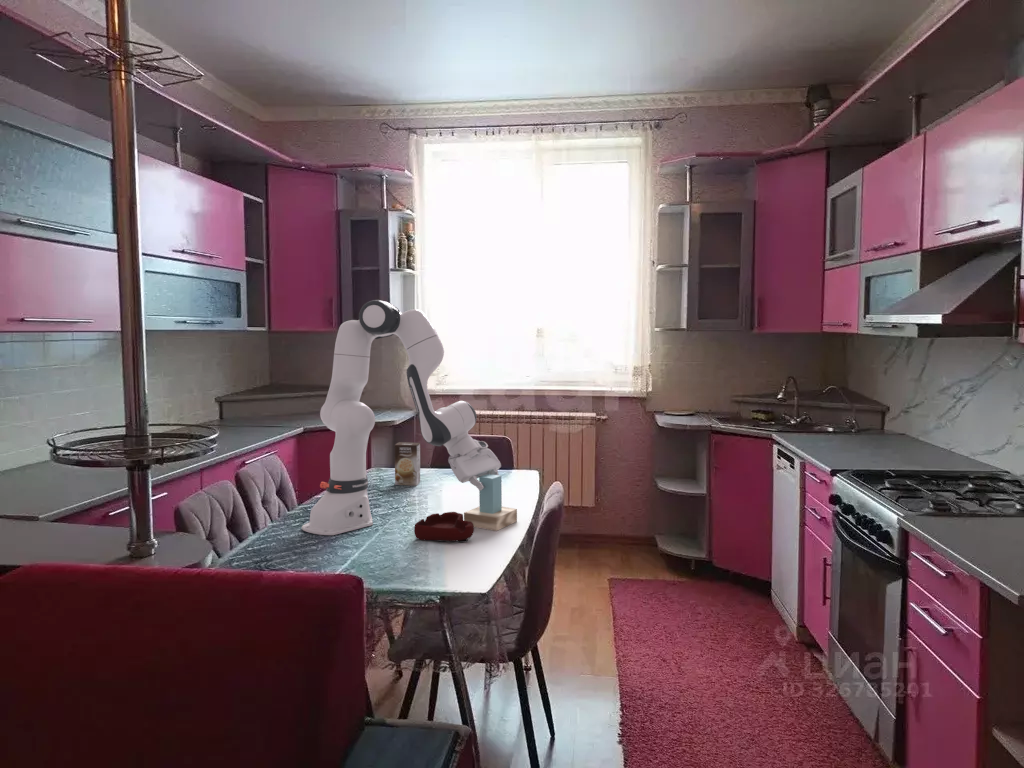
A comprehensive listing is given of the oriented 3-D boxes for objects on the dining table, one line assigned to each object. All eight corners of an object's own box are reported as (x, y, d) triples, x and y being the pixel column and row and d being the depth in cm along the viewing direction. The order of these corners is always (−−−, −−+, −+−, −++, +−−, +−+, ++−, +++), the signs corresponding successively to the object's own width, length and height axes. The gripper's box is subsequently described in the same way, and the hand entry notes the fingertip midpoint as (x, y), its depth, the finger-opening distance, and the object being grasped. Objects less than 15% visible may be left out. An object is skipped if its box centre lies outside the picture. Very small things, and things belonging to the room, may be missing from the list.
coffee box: (394, 485, 269) (393, 444, 267) (398, 481, 275) (397, 441, 274) (417, 485, 268) (416, 445, 266) (421, 482, 274) (420, 442, 273)
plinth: (496, 531, 208) (496, 518, 208) (464, 525, 214) (463, 512, 214) (516, 521, 218) (516, 508, 218) (485, 516, 225) (485, 504, 224)
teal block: (492, 513, 213) (492, 478, 212) (479, 511, 215) (479, 476, 214) (501, 510, 217) (501, 475, 216) (488, 507, 220) (488, 473, 219)
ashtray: (407, 532, 209) (407, 515, 208) (459, 526, 215) (459, 510, 214) (422, 549, 192) (421, 532, 192) (477, 542, 198) (477, 525, 198)
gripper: (451, 450, 209) (478, 486, 205) (488, 441, 227) (514, 473, 222) (440, 463, 212) (466, 499, 208) (477, 453, 229) (502, 485, 225)
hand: (491, 486), depth 215 cm, fingers open, 8 cm apart
